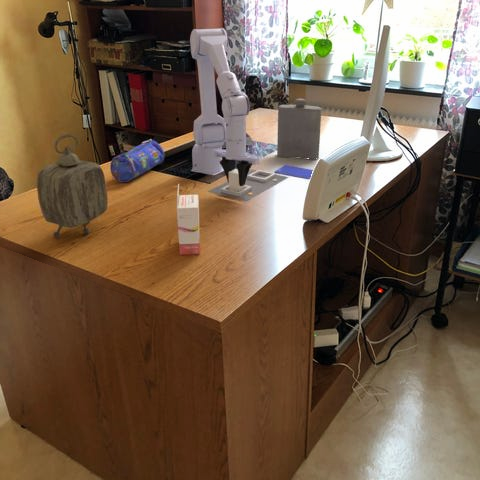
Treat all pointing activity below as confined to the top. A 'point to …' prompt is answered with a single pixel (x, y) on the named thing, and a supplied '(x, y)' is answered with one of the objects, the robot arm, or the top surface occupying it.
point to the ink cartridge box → (188, 223)
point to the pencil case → (136, 161)
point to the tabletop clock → (71, 190)
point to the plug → (235, 181)
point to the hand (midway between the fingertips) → (236, 183)
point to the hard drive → (294, 171)
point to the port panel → (251, 185)
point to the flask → (298, 130)
